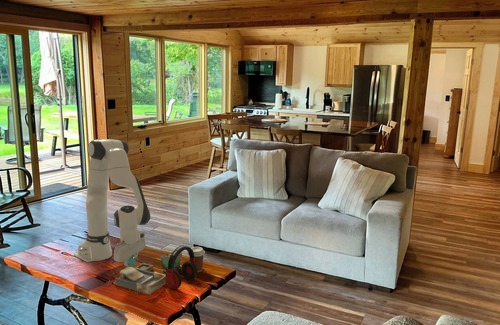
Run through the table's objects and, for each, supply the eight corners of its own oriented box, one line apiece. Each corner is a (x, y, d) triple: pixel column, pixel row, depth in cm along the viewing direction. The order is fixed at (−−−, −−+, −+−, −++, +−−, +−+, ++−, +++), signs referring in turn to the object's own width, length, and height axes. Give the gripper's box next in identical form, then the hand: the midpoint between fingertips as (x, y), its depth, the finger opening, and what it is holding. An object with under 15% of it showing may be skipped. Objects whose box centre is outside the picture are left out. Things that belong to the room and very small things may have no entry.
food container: (164, 276, 211) (164, 258, 209) (160, 271, 216) (159, 254, 214) (185, 271, 218) (185, 253, 216) (181, 266, 223) (181, 250, 221)
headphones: (177, 293, 194) (176, 255, 190) (162, 287, 199) (161, 250, 195) (200, 279, 208) (200, 243, 205) (185, 274, 214) (185, 239, 210)
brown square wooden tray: (134, 271, 216) (134, 267, 216) (143, 266, 222) (143, 262, 222) (144, 274, 213) (144, 270, 213) (153, 268, 219) (153, 265, 219)
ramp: (120, 277, 204) (119, 270, 203) (129, 272, 210) (129, 265, 209) (135, 282, 200) (134, 274, 199) (144, 276, 206) (144, 269, 205)
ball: (131, 269, 202) (131, 260, 201) (124, 267, 204) (123, 258, 203) (138, 265, 207) (137, 256, 206) (130, 263, 209) (130, 254, 208)
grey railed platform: (115, 284, 201) (114, 278, 201) (134, 273, 214) (134, 267, 213) (136, 290, 195) (136, 284, 195) (155, 279, 208) (155, 273, 207)
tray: (136, 290, 195) (136, 283, 195) (155, 279, 208) (154, 271, 207) (149, 294, 192) (149, 287, 191) (167, 282, 204) (167, 275, 204)
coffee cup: (198, 274, 214) (198, 253, 211) (184, 270, 218) (184, 250, 216) (208, 268, 221) (208, 248, 219) (195, 264, 226) (194, 244, 224)
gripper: (119, 246, 192) (121, 272, 195) (147, 232, 210) (148, 256, 213) (109, 244, 194) (111, 270, 197) (137, 230, 213) (139, 254, 215)
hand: (130, 263), depth 205 cm, fingers closed on ball, 5 cm apart
